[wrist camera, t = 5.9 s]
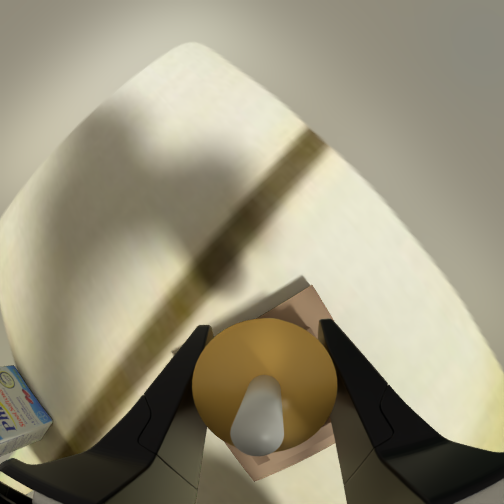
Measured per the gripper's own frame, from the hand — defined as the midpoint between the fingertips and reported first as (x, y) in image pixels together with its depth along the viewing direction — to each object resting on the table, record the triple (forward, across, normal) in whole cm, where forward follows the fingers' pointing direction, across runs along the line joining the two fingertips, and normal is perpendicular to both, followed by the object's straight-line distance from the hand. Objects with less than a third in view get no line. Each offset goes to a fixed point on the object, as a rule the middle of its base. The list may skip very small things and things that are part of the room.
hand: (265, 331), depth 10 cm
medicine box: (+3, +26, +16) cm, 31 cm away
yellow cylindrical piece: (+4, 0, +6) cm, 7 cm away
